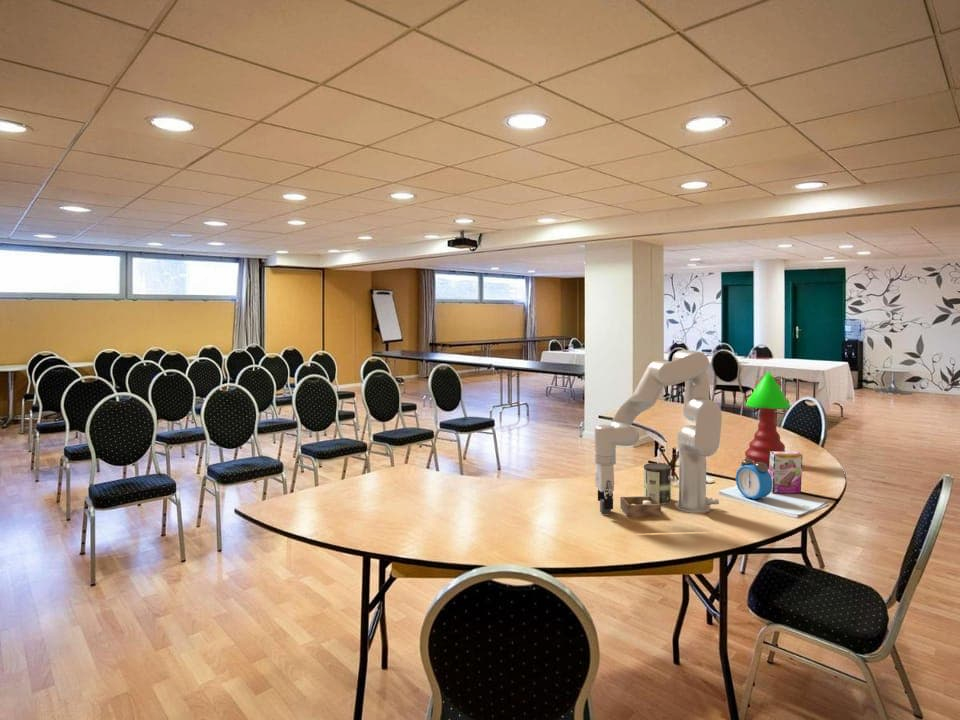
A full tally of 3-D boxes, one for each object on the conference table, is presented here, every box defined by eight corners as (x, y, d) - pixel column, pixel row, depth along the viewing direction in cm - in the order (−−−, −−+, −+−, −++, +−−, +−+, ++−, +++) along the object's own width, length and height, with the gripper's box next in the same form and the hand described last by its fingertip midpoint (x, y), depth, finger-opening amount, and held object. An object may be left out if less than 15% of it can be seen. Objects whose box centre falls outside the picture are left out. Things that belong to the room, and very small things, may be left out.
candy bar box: (773, 493, 238) (773, 454, 237) (768, 490, 243) (769, 451, 242) (802, 494, 237) (803, 454, 236) (796, 490, 242) (797, 451, 241)
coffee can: (669, 497, 235) (669, 463, 234) (672, 506, 225) (672, 469, 224) (642, 496, 237) (642, 462, 236) (644, 504, 227) (644, 468, 226)
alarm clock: (734, 494, 238) (735, 457, 237) (746, 492, 241) (747, 456, 239) (761, 503, 226) (761, 465, 225) (773, 501, 228) (773, 463, 227)
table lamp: (779, 458, 294) (781, 369, 291) (796, 469, 274) (799, 373, 271) (738, 458, 296) (739, 369, 293) (752, 468, 276) (754, 373, 273)
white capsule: (649, 510, 219) (649, 500, 218) (652, 513, 216) (652, 502, 215) (641, 510, 218) (641, 500, 218) (644, 513, 215) (644, 503, 215)
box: (651, 509, 222) (652, 496, 222) (660, 518, 212) (661, 504, 212) (620, 509, 222) (620, 496, 221) (627, 519, 212) (627, 505, 211)
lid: (618, 511, 222) (618, 495, 221) (626, 520, 212) (626, 504, 211) (585, 512, 222) (585, 496, 221) (591, 521, 211) (591, 505, 211)
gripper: (589, 453, 223) (590, 497, 225) (600, 465, 206) (600, 513, 208) (609, 453, 224) (609, 497, 225) (621, 464, 206) (621, 512, 208)
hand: (605, 504), depth 216 cm, fingers open, 9 cm apart
